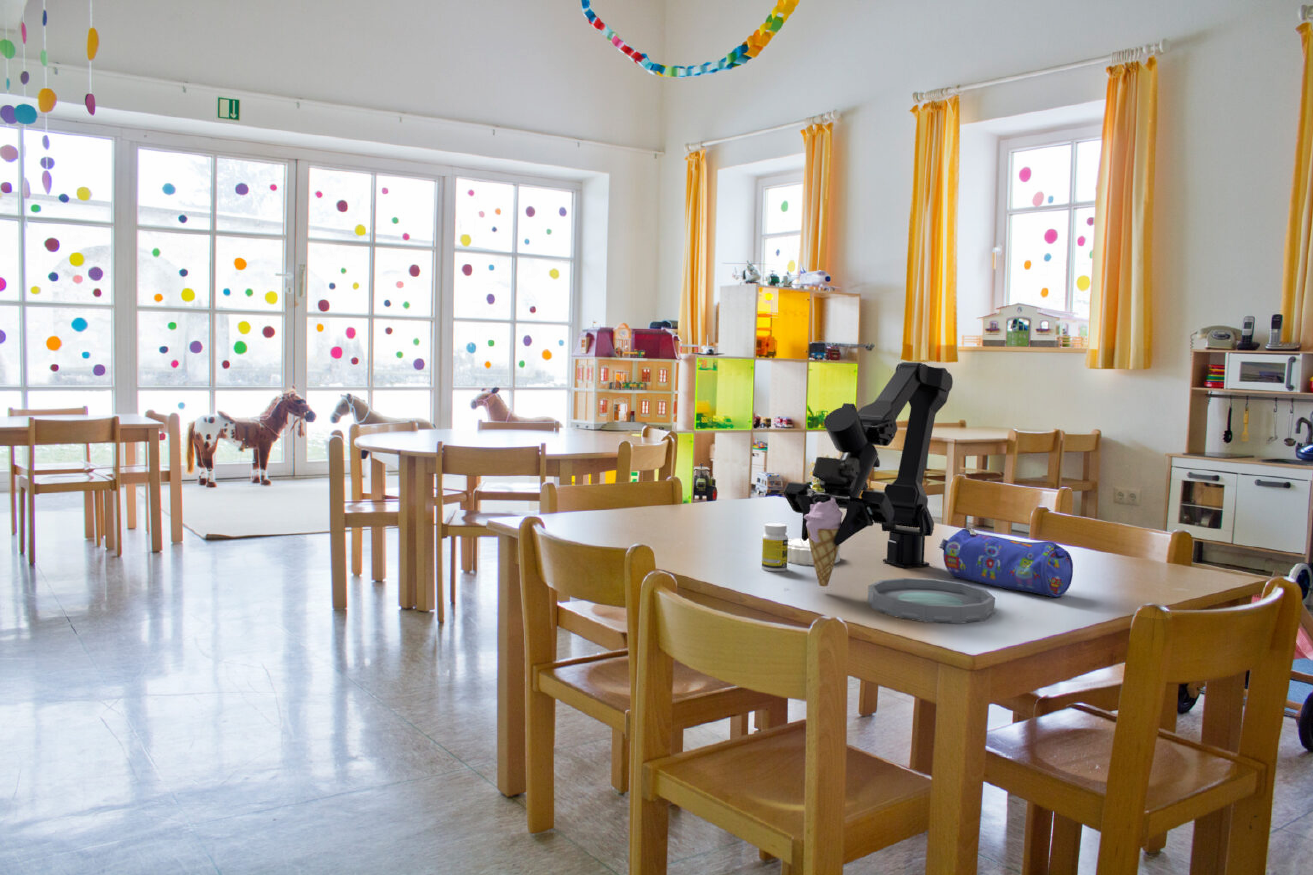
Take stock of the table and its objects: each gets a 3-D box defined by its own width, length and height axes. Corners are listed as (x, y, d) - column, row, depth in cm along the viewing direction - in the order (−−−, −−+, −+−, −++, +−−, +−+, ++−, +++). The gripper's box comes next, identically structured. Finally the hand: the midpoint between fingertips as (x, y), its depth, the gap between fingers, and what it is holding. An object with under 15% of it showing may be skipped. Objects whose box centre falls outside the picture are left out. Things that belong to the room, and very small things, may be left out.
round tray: (934, 589, 167) (934, 574, 166) (1019, 615, 150) (1020, 600, 149) (844, 598, 158) (845, 583, 158) (924, 628, 141) (924, 611, 141)
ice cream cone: (832, 591, 157) (834, 500, 156) (796, 586, 161) (798, 497, 159) (846, 584, 163) (849, 496, 162) (812, 579, 166) (814, 493, 165)
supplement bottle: (786, 572, 177) (787, 527, 177) (760, 571, 178) (761, 526, 177) (787, 567, 182) (789, 523, 181) (762, 565, 183) (764, 521, 182)
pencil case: (936, 578, 176) (938, 526, 175) (963, 572, 182) (965, 522, 181) (1050, 603, 159) (1053, 546, 158) (1076, 596, 165) (1079, 540, 164)
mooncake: (844, 567, 184) (845, 548, 184) (781, 565, 185) (782, 546, 185) (834, 554, 196) (835, 537, 196) (775, 553, 197) (776, 535, 197)
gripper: (790, 436, 169) (753, 505, 161) (889, 443, 157) (855, 519, 149) (811, 476, 175) (777, 545, 168) (908, 486, 164) (876, 561, 156)
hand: (819, 541), depth 160 cm, fingers closed on ice cream cone, 6 cm apart
